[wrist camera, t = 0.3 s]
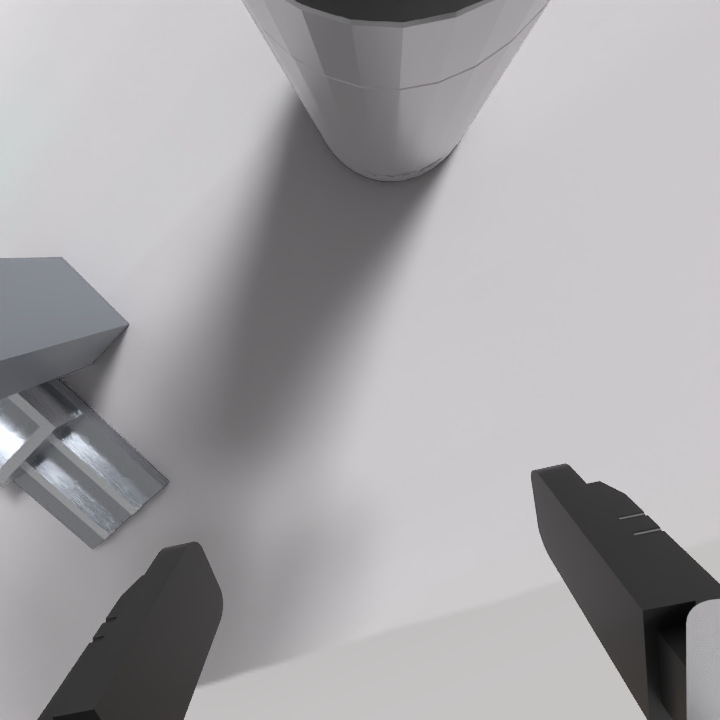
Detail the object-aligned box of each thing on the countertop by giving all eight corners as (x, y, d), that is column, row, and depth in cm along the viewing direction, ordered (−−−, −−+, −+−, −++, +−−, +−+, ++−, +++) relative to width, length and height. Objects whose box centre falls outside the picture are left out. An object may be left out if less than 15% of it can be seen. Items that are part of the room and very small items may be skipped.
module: (129, 324, 28) (-11, 363, 18) (88, 367, 29) (-64, 426, 19) (62, 257, 27) (-124, 260, 17) (22, 304, 28) (-173, 333, 18)
